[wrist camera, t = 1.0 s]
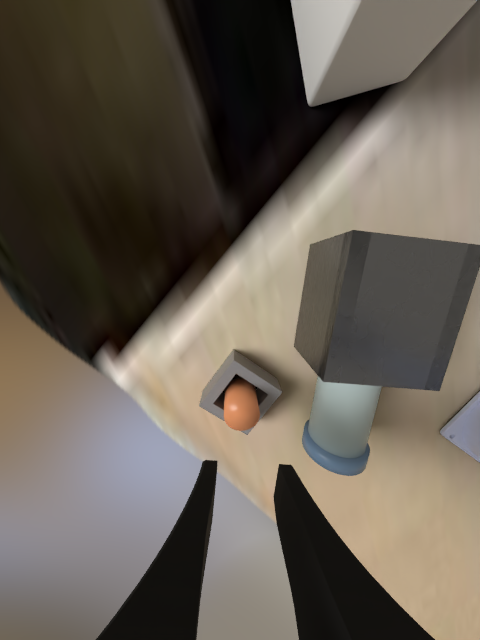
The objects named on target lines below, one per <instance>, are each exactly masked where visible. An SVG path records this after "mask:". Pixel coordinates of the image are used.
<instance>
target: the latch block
mask: <svg viewBox="0 0 480 640" xmlns="http://www.w3.org/2000/svg"><path fill="white" fill-rule="evenodd" d="M235 374H238V375H239V376H241V377H242V378H244V379H245V380H247V381H248V382H250V383H252V384H253V385H255V386H256V387H258V389H257V390H256V395H257V400H258V405H259V411H260V418H259V420H260V419H261V418H262V416H263V415H264V414H265V413H266V412H267V410H268V409H269V408H270V407H271V405H272V404H273V403H274V402H275V401H276V399H277V398H278V397H279V396H280V395H281V393H282V390H281V388H280V385H279V383H278V380H277V378H276V377H274V376H273V375H271V374H270V373H268V372H267V371H265V370H264V369H262V368H261V367H259V366H258V365H256V364H255V363H253V362H252V361H250V360H249V359H247V358H246V357H244V356H243V355H241V354H240V353H238V352H237V351H235V350H234V349H233V351H232V352H231V353H230V355H229V356H228V357H227V359H226V360H225V361H224V363H223V364H222V365H221V367H220V368H219V369H218V371H217V372H216V373H215V375H214V376H213V378H212V379H211V380H210V382H209V383H208V384H207V386H206V387H205V388H204V390H203V392H202V396H201V400H200V404H199V406H200V407H202V408H203V409H205V410H207V411H208V412H210V413H212V414H213V415H215V416H217V417H218V418H220V419H222V420H223V421H225V420H224V400H225V394H224V393H222V391H223V390H224V389H225V387H226V386H227V385H228V384H229V382H230V381H231V380H232V378H233V377H234V376H235ZM252 429H253V427H252V428H250V429H248V430H244V431H241V432H243V433H245V434H246V435H248V433H249V432H250V431H251V430H252Z"/></svg>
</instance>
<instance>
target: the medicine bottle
mask: <svg viewBox="0 0 480 640" xmlns="http://www.w3.org/2000/svg"><path fill="white" fill-rule="evenodd" d="M476 1H477V0H291V5H292V11H293V17H294V23H295V29H296V35H297V42H298V48H299V54H300V60H301V66H302V72H303V78H304V84H305V90H306V97H307V103H308V105H309V106H310V107H314V106H317V105H321V104H324V103H328V102H331V101H335V100H338V99H342V98H345V97H348V96H352V95H355V94H359V93H362V92H366V91H369V90H373V89H376V88H380V87H383V86H387V85H390V84H394V83H397V82H401V81H403V80H405V79H406V78H407V77H408V76H409V75H410V74H411V73H412V72H413V71H414V70H415V69H416V67H417V66H418V65H419V64H420V63H421V62H422V61H423V60H424V59H425V58H426V56H427V55H428V54H429V53H430V52H431V51H432V50H433V49H434V48H435V47H436V45H437V44H438V43H439V42H440V41H441V40H442V39H443V38H444V37H445V36H446V34H447V33H448V32H449V31H450V30H451V29H452V28H453V27H454V26H455V25H456V23H457V22H458V21H459V20H460V19H461V18H462V17H463V16H464V15H465V14H466V12H467V11H468V10H469V9H470V8H471V7H472V6H473V5H474V4H475V2H476Z"/></svg>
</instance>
